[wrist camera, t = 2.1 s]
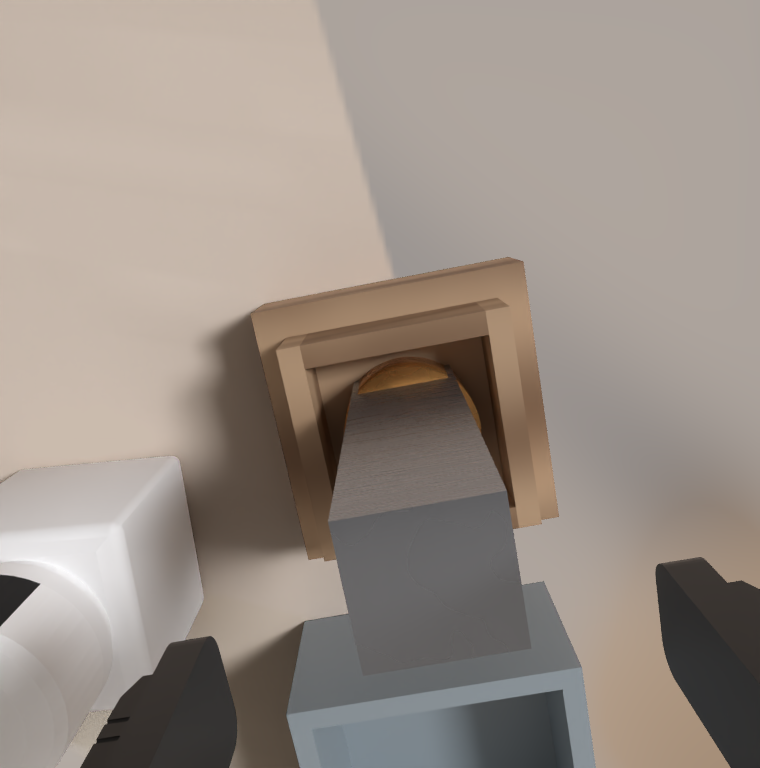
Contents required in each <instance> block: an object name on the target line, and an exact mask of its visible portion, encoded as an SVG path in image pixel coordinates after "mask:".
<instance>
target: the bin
mask: <svg viewBox="0 0 760 768" xmlns="http://www.w3.org/2000/svg"><path fill="white" fill-rule="evenodd" d="M522 591H523V597H524V603H525V610H526V616H527V622H528V629H529V635H530V641H531V648H532V649H526V650H520V651H514V652H507V653H501V654H495V655H489V656H483V657H477V658H471V659H464V660H458V661H452V662H446V663H440V664H434V665H428V666H421V667H415V668H409V669H403V670H397V671H391V672H385V673H378V674H372V675H366V676H363V674H362V670H361V665H360V661H359V656H358V652H357V648H356V643H355V639H354V634H353V630H352V626H351V621H350V617H349V614H346V615H340V616H334V617H328V618H322V619H316V620H310V621H305V622H304V627H303V632H302V637H301V642H300V647H299V652H298V657H297V662H296V667H295V672H294V678H293V683H292V688H291V693H290V698H289V703H288V708H287V713H286V716H287V720H288V724H289V728H290V731H291V735H292V739H293V743H294V747H295V751H296V754H297V758H298V762H299V766H300V768H596V766H595V759H594V753H593V745H592V737H591V730H590V723H589V717H588V709H587V701H586V694H585V688H584V680H583V673H582V667H581V664H580V662H579V660H578V658H577V655H576V653H575V651H574V649H573V646H572V644H571V642H570V640H569V638H568V635H567V633H566V631H565V628H564V626H563V624H562V621H561V619H560V617H559V615H558V612H557V610H556V608H555V606H554V603H553V601H552V599H551V597H550V594H549V592H548V590H547V588H546V585H545V583H544V581H543V582H537V583H532V584H525V585H522Z"/></svg>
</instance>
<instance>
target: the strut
mask: <svg viewBox="0 0 760 768" xmlns="http://www.w3.org/2000/svg"><path fill="white" fill-rule="evenodd" d="M343 431H344V438H343V444H342V449H341V454H340V460H339V465H338V471H337V476H336V481H335V487H334V492H333V498H332V503H331V508H330V514H329V519H328V524H329V528H330V533H331V537H332V542H333V546H334V550H335V555H336V559H337V564H338V568H339V573H340V577H341V581H342V586H343V590H344V595H345V599H346V603H347V608H348V612H349V617H350V621H351V626H352V630H353V634H354V639H355V643H356V648H357V652H358V656H359V661H360V665H361V670H362V674H363V676H366V675H372V674H378V673H385V672H391V671H397V670H403V669H409V668H415V667H421V666H428V665H434V664H440V663H446V662H452V661H458V660H464V659H471V658H477V657H483V656H489V655H495V654H501V653H507V652H514V651H520V650H526V649H532V648H531V641H530V635H529V629H528V622H527V616H526V610H525V603H524V597H523V591H522V584H521V578H520V572H519V565H518V559H517V552H516V547H515V540H514V533H513V527H512V521H511V514H510V508H509V502H508V495H507V490H506V488H505V486H504V483H503V481H502V479H501V477H500V475H499V472H498V470H497V468H496V466H495V464H494V461H493V459H492V457H491V455H490V453H489V450H488V448H487V446H486V444H485V442H484V439H483V437H482V435H481V423H480V419H479V415H478V412H477V409H476V407H475V405H474V403H473V401H472V399H471V397H470V395H469V392H468V391H467V389H466V387H465V385H464V384H463V382H462V381H461V380H460V378H459V377H458V376H457V375H456V374H455V373H454V372H453V371H452V369H451V367H450V364H448V365H442V364H440V363H438V362H436V361H433V360H430V359H427V358H422V357H399V358H395V359H391V360H388V361H386V362H383V363H381V364H379V365H377V366H376V367H374V368H373V369H371V370H370V371H369V372H368V373H367V374H366V375H365V376H363V377H362V379H361V380H360V381H356V382H354V384H353V390H352V395H351V397H350V400H349V403H348V407H347V412H346V417H345V423H344V430H343Z"/></svg>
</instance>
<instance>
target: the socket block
mask: <svg viewBox="0 0 760 768" xmlns="http://www.w3.org/2000/svg"><path fill="white" fill-rule="evenodd" d="M250 315H251V319H252V323H253V327H254V331H255V336H256V340H257V344H258V348H259V353H260V357H261V361H262V365H263V369H264V374H265V378H266V382H267V386H268V391H269V395H270V399H271V403H272V407H273V412H274V416H275V420H276V424H277V428H278V433H279V437H280V441H281V445H282V450H283V454H284V458H285V462H286V466H287V471H288V475H289V479H290V483H291V488H292V492H293V496H294V500H295V504H296V509H297V513H298V517H299V521H300V526H301V530H302V534H303V538H304V542H305V547H306V551H307V555H308V559H309V560H311V559H317V558H323V557H324V561H330V560H336V555H335V550H334V546H333V542H332V537H331V533H330V528H329V524H328V519H329V514H330V508H331V503H332V498H333V492H334V487H335V481H336V476H337V471H338V465H339V460H340V454H341V449H342V444H343V438H344V431H343V430H344V423H345V417H346V412H347V407H348V403H349V400H350V397H351V395H352V390H353V384H354V382H356V381H360V380H361V379H362V377H363V376H365V375H366V374H367V373H368V372H369V371H370V370H371V369H373V368H374V367H376V366H377V365H379V364H381V363H383V362H386V361H388V360H391V359H395V358H399V357H422V358H427V359H430V360H433V361H436V362H438V363H440V364H442V365H448V364H450V367H451V369H452V371H453V372H454V373H455V374H456V375H457V376H458V377H459V378H460V380H461V381H462V382H463V384H464V385H465V387H466V389H467V391H468V392H469V395H470V397H471V399H472V401H473V403H474V405H475V407H476V409H477V412H478V415H479V419H480V423H481V435H482V437H483V439H484V442H485V444H486V446H487V448H488V450H489V453H490V455H491V457H492V459H493V461H494V464H495V466H496V468H497V470H498V472H499V475H500V477H501V479H502V481H503V483H504V486H505V488H506V490H507V495H508V502H509V508H510V514H511V521H512V527H513V529H516V528H522V527H528V526H533V525H539V524H542V523H541V520H543V519H549V518H555V517H559V514H558V506H557V499H556V492H555V486H554V478H553V470H552V464H551V456H550V449H549V442H548V435H547V428H546V420H545V413H544V406H543V399H542V392H541V385H540V378H539V371H538V363H537V356H536V348H535V341H534V334H533V327H532V320H531V313H530V306H529V298H528V292H527V285H526V277H525V270H524V262H523V261H520V260H516V259H513V258H510V257H506V258H501V259H495V260H491V261H485V262H480V263H475V264H469V265H465V266H459V267H454V268H449V269H443V270H438V271H433V272H428V273H423V274H418V275H412V276H407V277H402V278H396V279H391V280H386V281H381V282H376V283H370V284H365V285H360V286H355V287H350V288H344V289H339V290H334V291H329V292H324V293H318V294H313V295H308V296H303V297H298V298H292V299H287V300H282V301H277V302H272V303H266V304H264V305H262V306H261V307H259V308H258V309H256V310H255V311H254V312H252V313H251V314H250Z"/></svg>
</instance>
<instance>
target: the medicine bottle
mask: <svg viewBox="0 0 760 768" xmlns="http://www.w3.org/2000/svg"><path fill="white" fill-rule="evenodd" d="M203 600H204V594H203V588H202V582H201V577H200V571H199V566H198V560H197V554H196V549H195V543H194V538H193V532H192V526H191V521H190V515H189V510H188V504H187V498H186V493H185V487H184V482H183V476H182V470H181V465H180V461H179V459H178V458H177V457H176V456H161V457H150V458H140V459H129V460H118V461H107V462H96V463H86V464H75V465H64V466H53V467H43V468H32V469H23V470H20V471H18V472H16V473H15V474H13V475H12V476H10V477H9V478H7V479H6V480H5V481H3V482H2V483H0V768H55V767H56V766H57V765H58V763H59V761H60V760H61V758H62V756H63V755H64V753H65V751H66V750H67V748H68V746H69V745H70V743H71V741H72V740H73V738H74V736H75V735H76V733H77V731H78V730H79V728H80V726H81V725H82V723H83V721H84V720H85V718H86V716H87V715H88V713H89V712H93V711H105V710H113V709H114V708H115V706H116V704H117V702H118V701H119V699H120V697H121V696H122V695H123V694H124V693H125V692H126V691H127V690H129V689H130V688H131V687H132V686H133V685H134V684H135V683H136V682H137V681H138V680H139V679H140V678H141V677H142V676H146V675H152V674H153V673H154V671H155V669H156V667H157V665H158V663H159V661H160V659H161V657H162V655H163V654H164V652H165V650H166V648H167V646H168V645H169V644H170V643H172V642H178V641H184V640H185V639H186V637H187V635H188V633H189V631H190V629H191V626H192V624H193V622H194V620H195V618H196V616H197V614H198V612H199V610H200V607H201V605H202V603H203Z"/></svg>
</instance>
